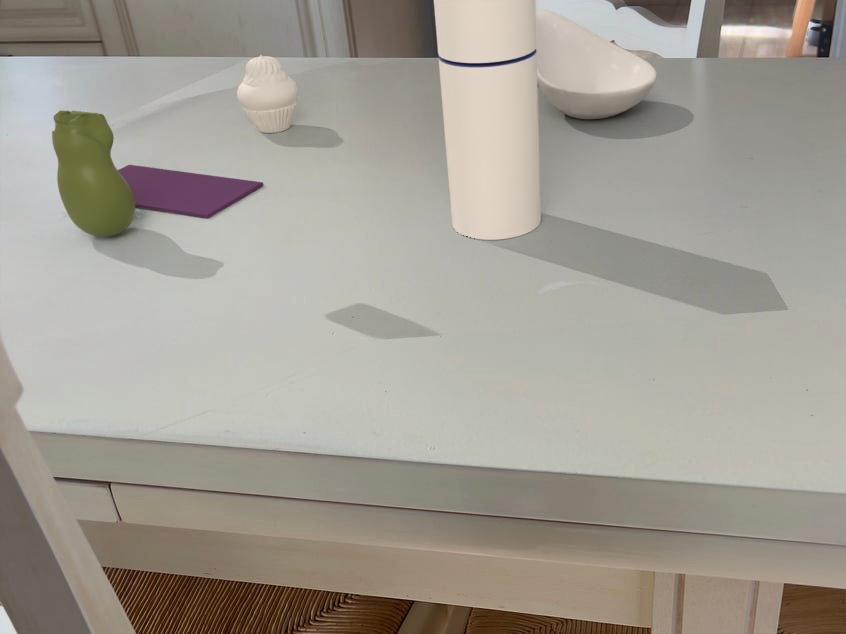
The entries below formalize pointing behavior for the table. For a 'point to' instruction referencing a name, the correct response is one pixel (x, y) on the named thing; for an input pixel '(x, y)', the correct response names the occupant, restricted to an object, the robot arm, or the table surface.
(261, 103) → the muffin
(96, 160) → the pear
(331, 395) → the table surface
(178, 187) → the cloth
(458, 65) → the cylindrical container
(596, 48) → the spoon rest
